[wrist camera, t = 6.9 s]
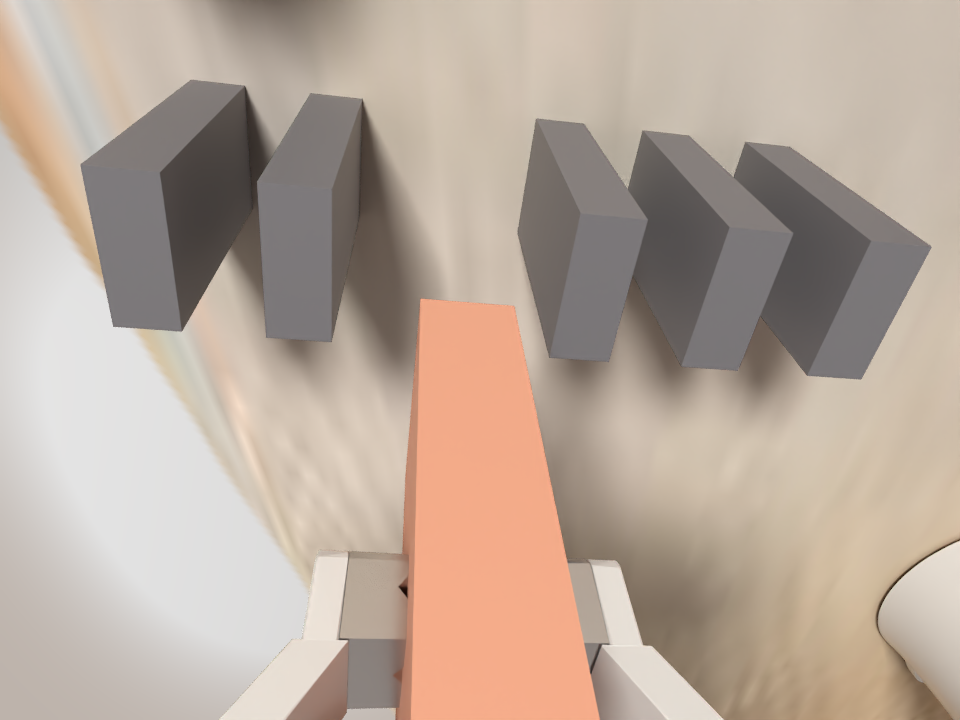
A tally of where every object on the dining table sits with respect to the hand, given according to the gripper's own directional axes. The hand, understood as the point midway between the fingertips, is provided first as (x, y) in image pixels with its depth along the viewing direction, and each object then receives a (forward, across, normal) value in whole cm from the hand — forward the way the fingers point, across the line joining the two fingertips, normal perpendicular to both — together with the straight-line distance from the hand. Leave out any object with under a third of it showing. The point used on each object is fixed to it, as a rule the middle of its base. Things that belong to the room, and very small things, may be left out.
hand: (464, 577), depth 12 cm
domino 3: (+5, 0, 0) cm, 5 cm away
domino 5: (+21, -9, 0) cm, 23 cm away
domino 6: (+21, -14, 0) cm, 25 cm away
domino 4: (+21, -4, 0) cm, 21 cm away
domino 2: (+21, +4, 0) cm, 21 cm away
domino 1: (+21, +9, 0) cm, 23 cm away
